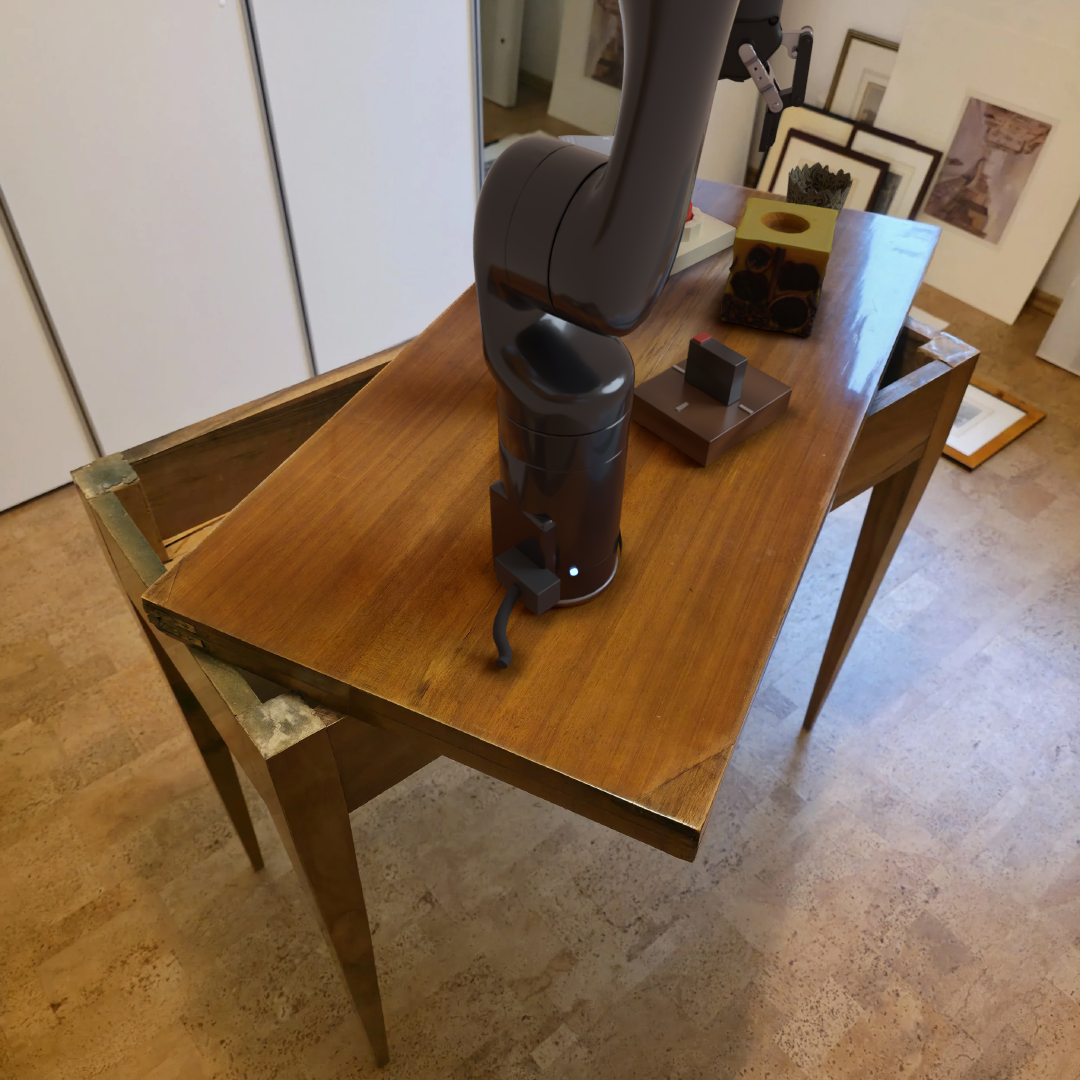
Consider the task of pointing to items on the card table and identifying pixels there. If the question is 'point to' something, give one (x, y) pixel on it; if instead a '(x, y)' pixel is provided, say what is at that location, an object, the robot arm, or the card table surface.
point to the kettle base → (702, 239)
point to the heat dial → (715, 368)
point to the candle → (778, 266)
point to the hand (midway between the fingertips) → (717, 145)
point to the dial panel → (707, 411)
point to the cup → (818, 187)
